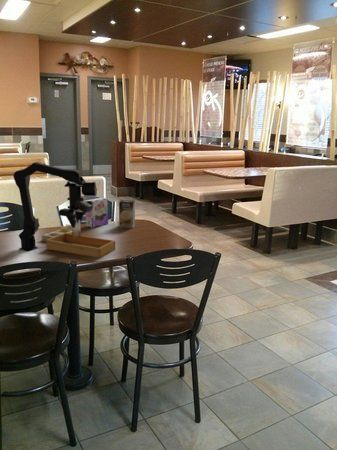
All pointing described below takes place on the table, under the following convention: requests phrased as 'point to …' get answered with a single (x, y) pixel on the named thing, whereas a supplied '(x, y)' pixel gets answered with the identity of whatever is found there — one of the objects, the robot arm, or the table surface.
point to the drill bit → (77, 229)
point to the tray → (81, 245)
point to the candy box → (97, 213)
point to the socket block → (54, 234)
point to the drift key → (65, 229)
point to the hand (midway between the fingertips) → (76, 226)
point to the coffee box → (127, 213)
